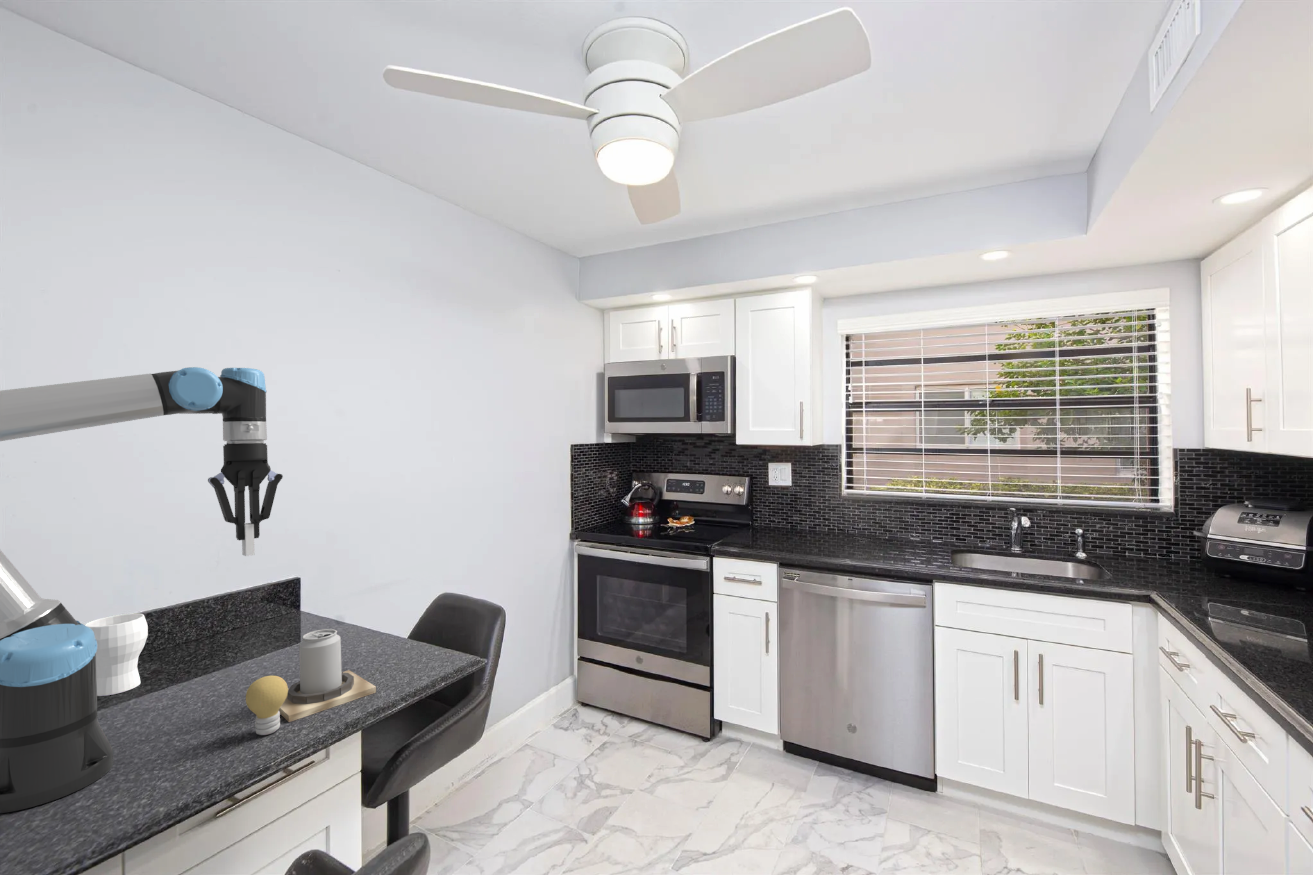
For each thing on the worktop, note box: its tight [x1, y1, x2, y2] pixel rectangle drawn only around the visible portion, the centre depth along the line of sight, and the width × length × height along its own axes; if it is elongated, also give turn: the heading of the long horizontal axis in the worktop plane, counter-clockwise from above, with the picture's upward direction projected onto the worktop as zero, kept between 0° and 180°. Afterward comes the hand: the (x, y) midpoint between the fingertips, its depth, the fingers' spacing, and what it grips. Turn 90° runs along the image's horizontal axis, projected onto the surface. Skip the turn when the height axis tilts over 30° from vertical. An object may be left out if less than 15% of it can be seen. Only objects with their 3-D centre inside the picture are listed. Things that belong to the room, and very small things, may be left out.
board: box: [278, 669, 377, 723], centre depth 119 cm, size 16×14×3 cm
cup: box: [84, 612, 149, 697], centre depth 126 cm, size 11×11×15 cm
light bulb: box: [245, 675, 289, 736], centre depth 105 cm, size 6×6×10 cm
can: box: [298, 628, 343, 694], centre depth 119 cm, size 8×8×12 cm
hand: (248, 554), depth 121 cm, fingers closed
